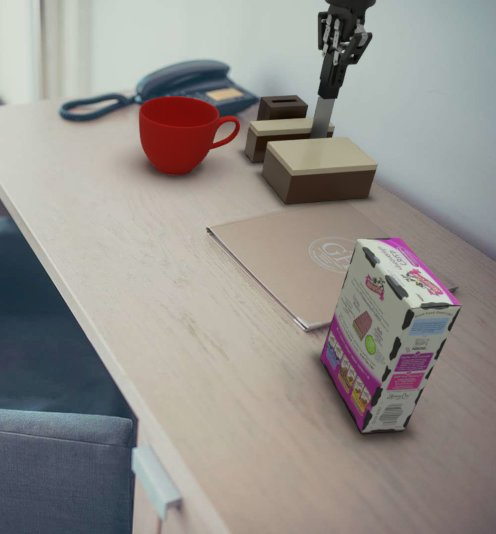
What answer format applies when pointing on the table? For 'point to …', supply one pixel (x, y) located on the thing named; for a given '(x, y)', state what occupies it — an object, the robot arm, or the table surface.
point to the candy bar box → (386, 333)
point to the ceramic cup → (180, 132)
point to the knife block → (281, 108)
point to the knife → (324, 101)
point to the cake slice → (277, 134)
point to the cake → (318, 170)
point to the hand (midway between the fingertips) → (330, 83)
